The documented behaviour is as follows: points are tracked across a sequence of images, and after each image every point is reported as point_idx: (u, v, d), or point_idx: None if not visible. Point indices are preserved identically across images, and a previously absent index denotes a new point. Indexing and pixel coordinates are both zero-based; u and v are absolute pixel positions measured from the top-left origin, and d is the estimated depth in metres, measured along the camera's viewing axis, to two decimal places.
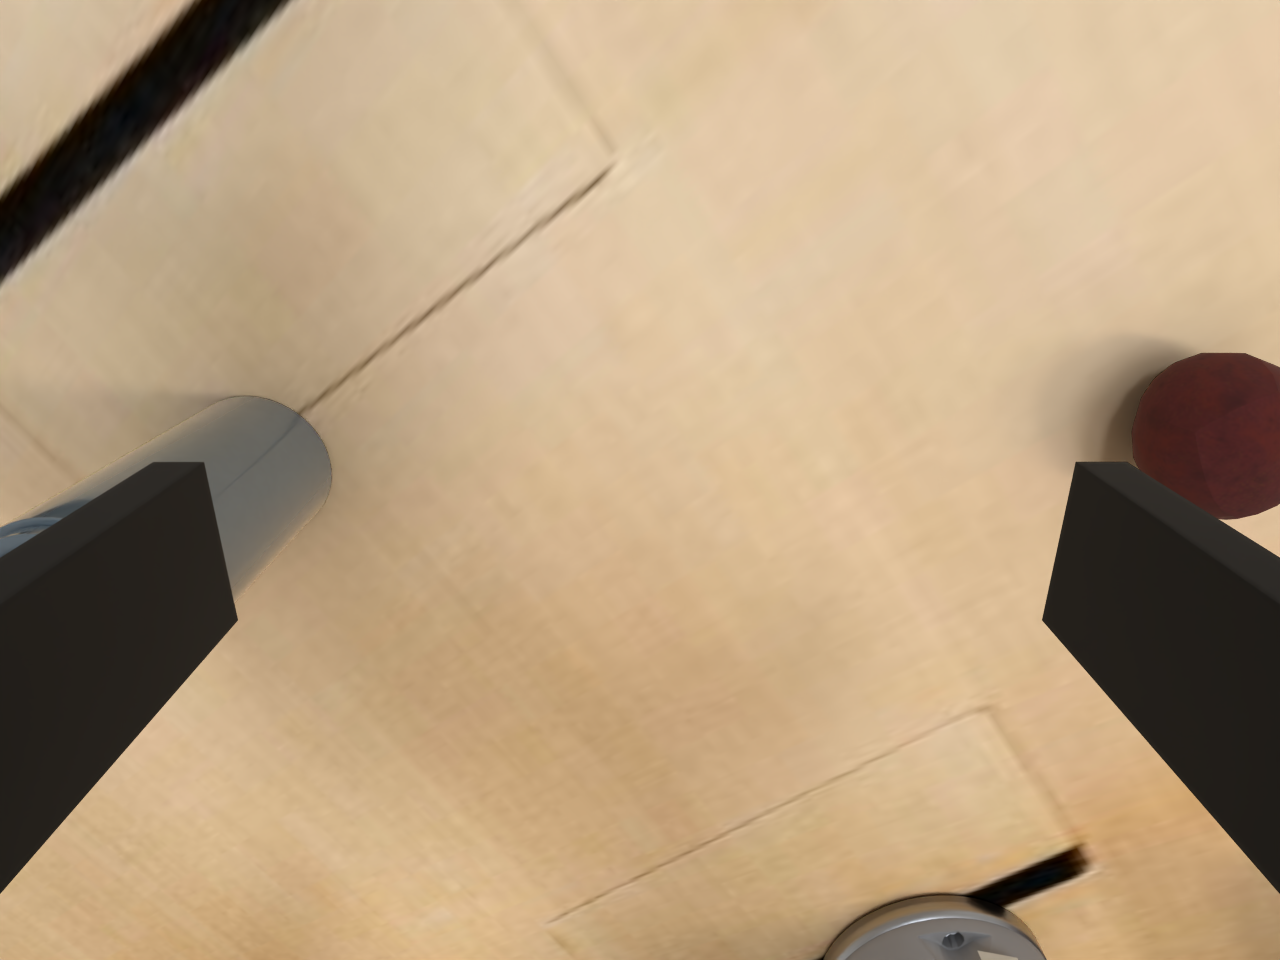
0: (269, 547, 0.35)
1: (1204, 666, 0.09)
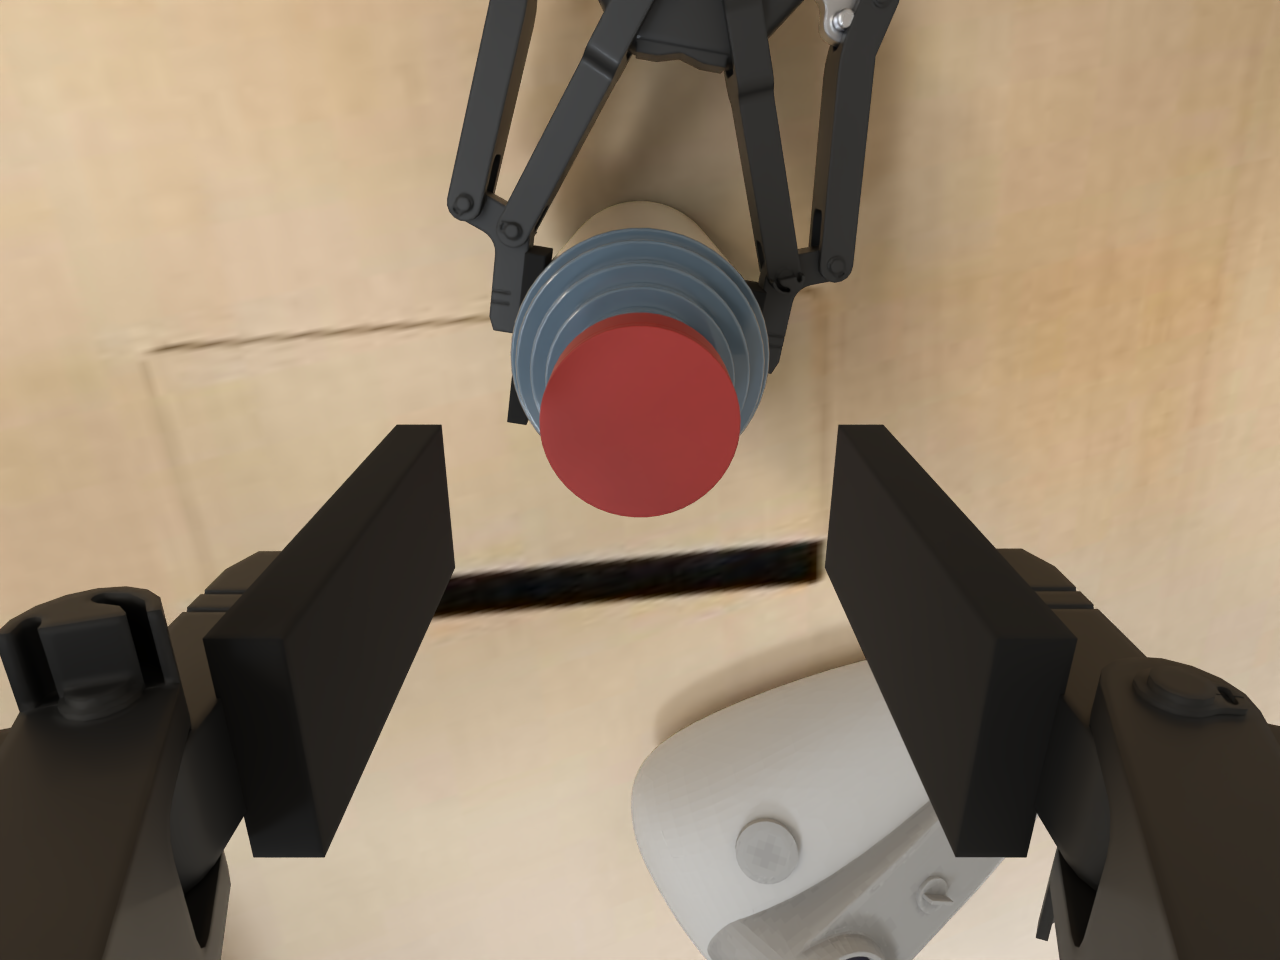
0: None
1: (888, 589, 0.11)
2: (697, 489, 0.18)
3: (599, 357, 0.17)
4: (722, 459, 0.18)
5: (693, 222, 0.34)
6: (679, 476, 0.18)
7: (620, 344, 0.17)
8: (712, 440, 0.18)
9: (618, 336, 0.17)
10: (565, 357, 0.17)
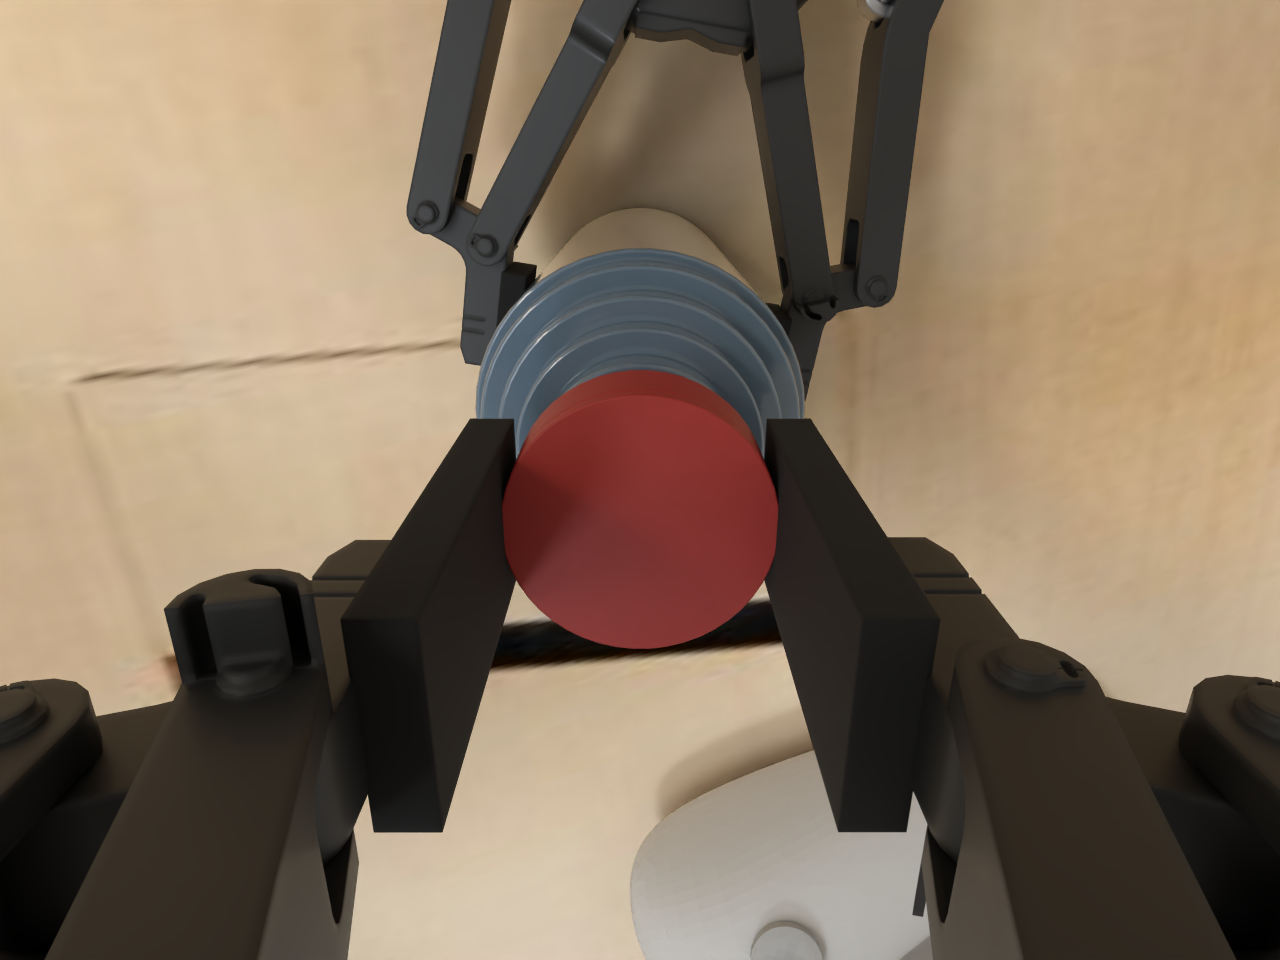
0: (550, 262, 0.24)
1: (797, 576, 0.11)
2: (719, 613, 0.13)
3: (583, 438, 0.12)
4: (754, 574, 0.13)
5: (703, 233, 0.29)
6: (694, 596, 0.13)
7: (612, 421, 0.12)
8: (740, 549, 0.13)
9: (609, 410, 0.12)
10: (535, 438, 0.12)
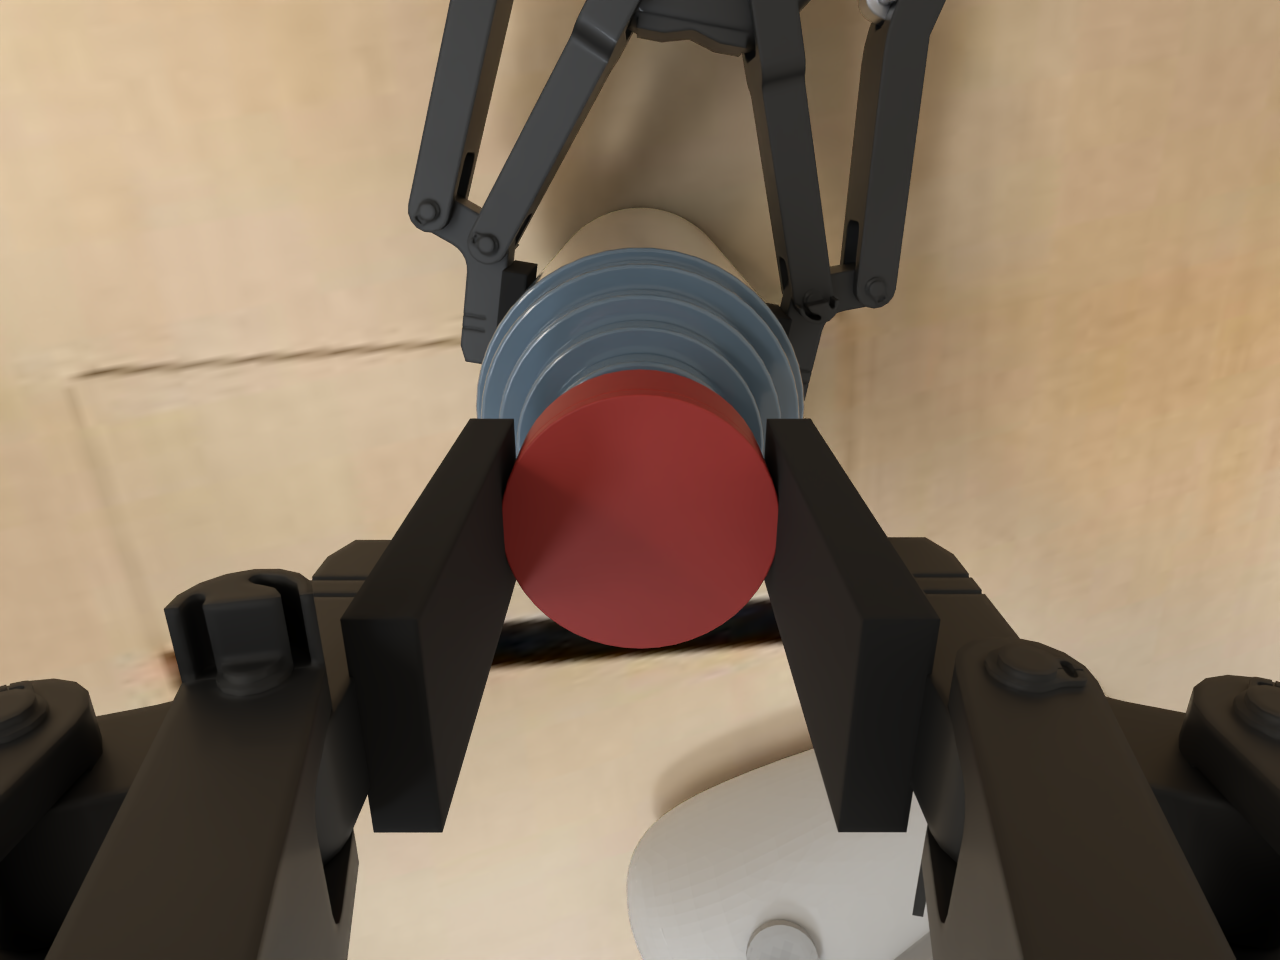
0: None
1: (797, 576, 0.11)
2: (720, 436, 0.12)
3: (558, 593, 0.13)
4: (667, 410, 0.12)
5: None
6: (704, 464, 0.12)
7: (535, 572, 0.13)
8: (641, 431, 0.12)
9: (526, 576, 0.13)
10: (569, 629, 0.14)
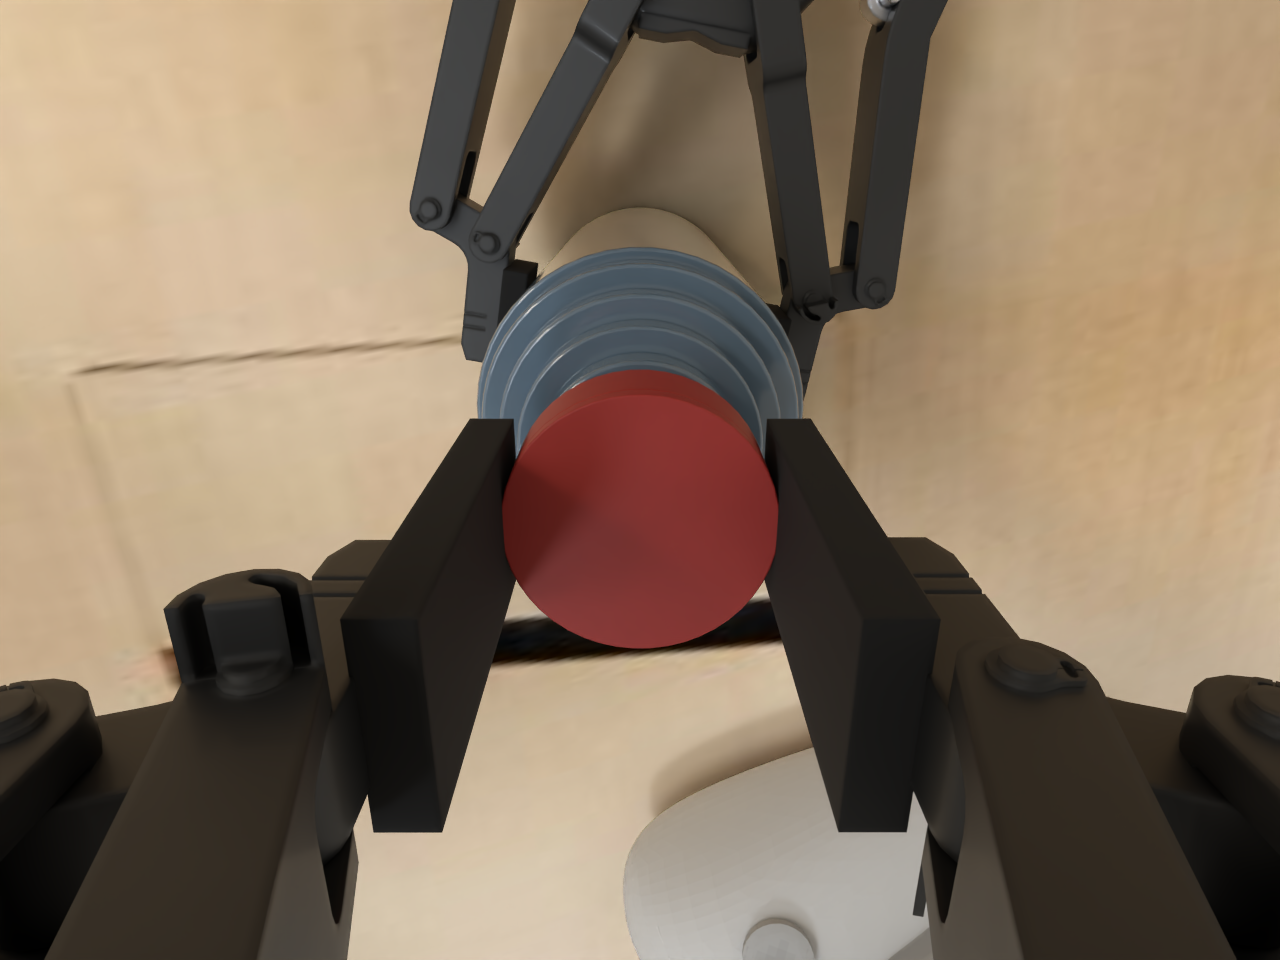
0: None
1: (797, 576, 0.11)
2: (524, 479, 0.12)
3: (725, 589, 0.13)
4: (513, 529, 0.13)
5: (703, 233, 0.29)
6: (557, 486, 0.13)
7: (705, 613, 0.13)
8: (539, 547, 0.13)
9: (711, 619, 0.13)
10: (766, 572, 0.13)
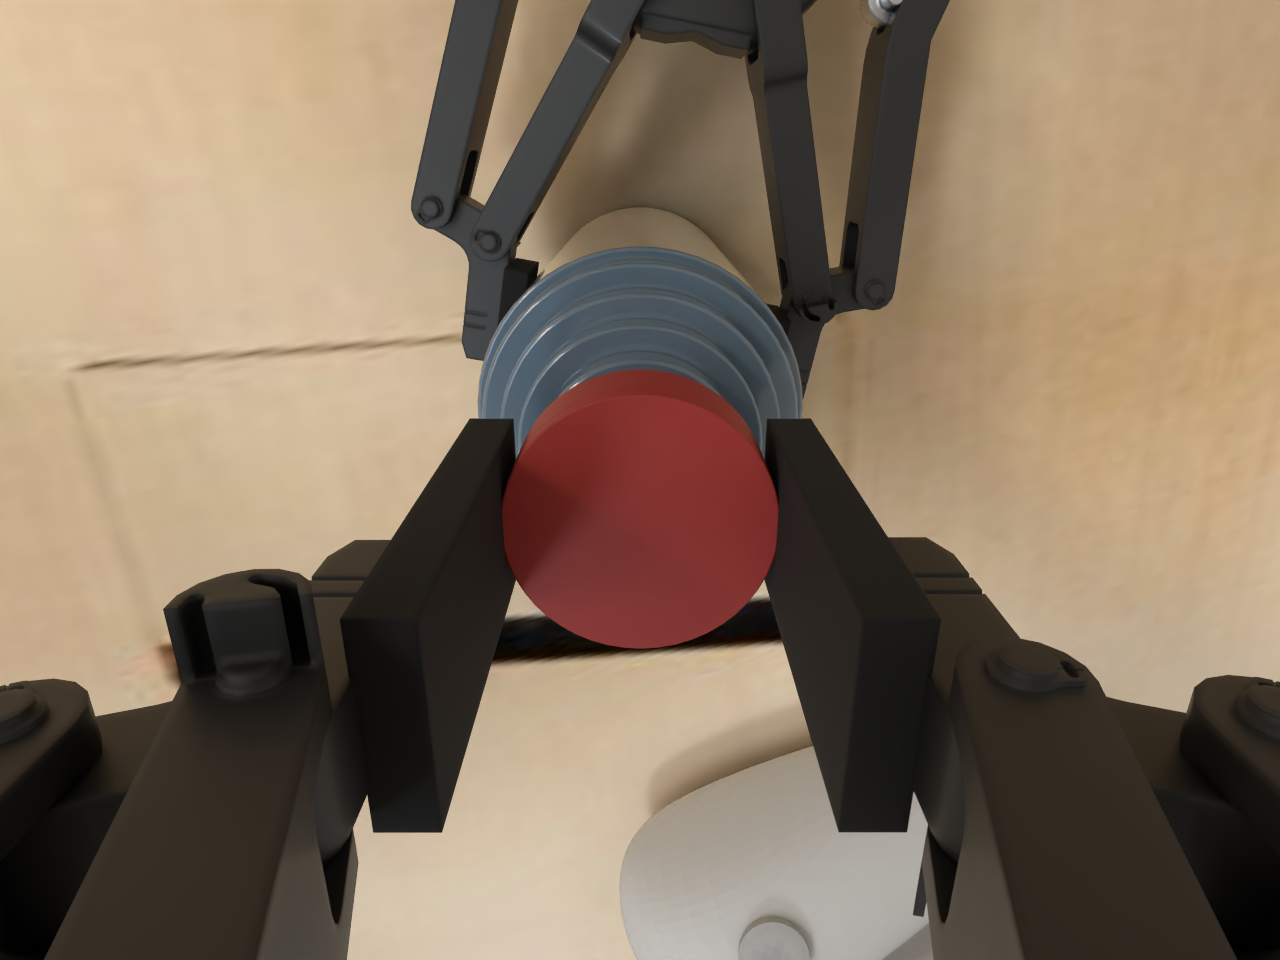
0: None
1: (798, 576, 0.11)
2: (609, 635, 0.14)
3: (692, 435, 0.12)
4: (663, 636, 0.14)
5: (703, 234, 0.29)
6: (610, 607, 0.13)
7: (723, 449, 0.12)
8: (678, 613, 0.13)
9: (731, 440, 0.12)
10: (664, 396, 0.12)
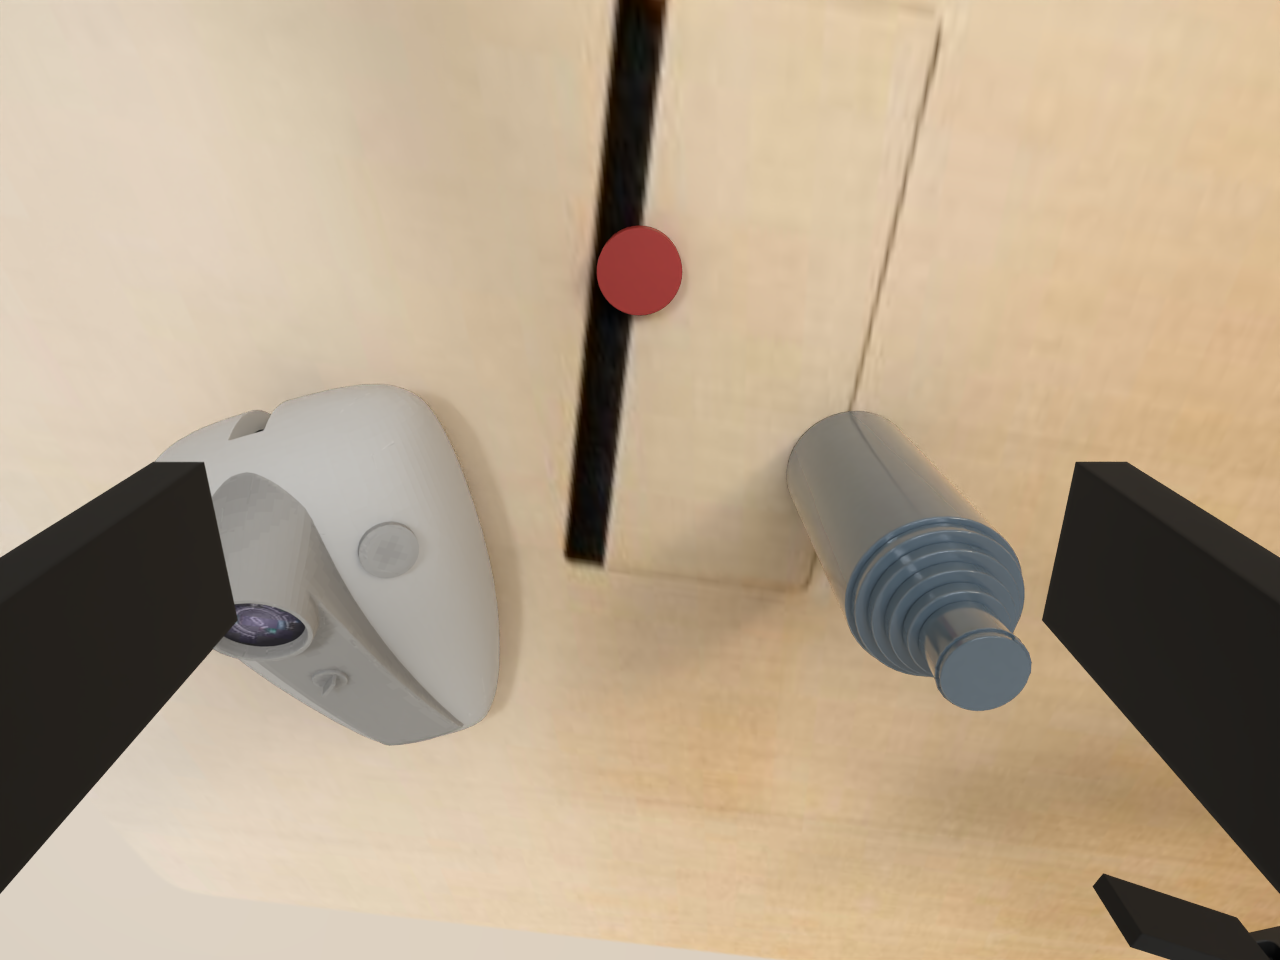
0: None
1: (1204, 666, 0.09)
2: (629, 309, 0.43)
3: (654, 241, 0.42)
4: (646, 310, 0.43)
5: None
6: (630, 299, 0.43)
7: (664, 245, 0.42)
8: (651, 302, 0.43)
9: (666, 242, 0.42)
10: (646, 228, 0.41)
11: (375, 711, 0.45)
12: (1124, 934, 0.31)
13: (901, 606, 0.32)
